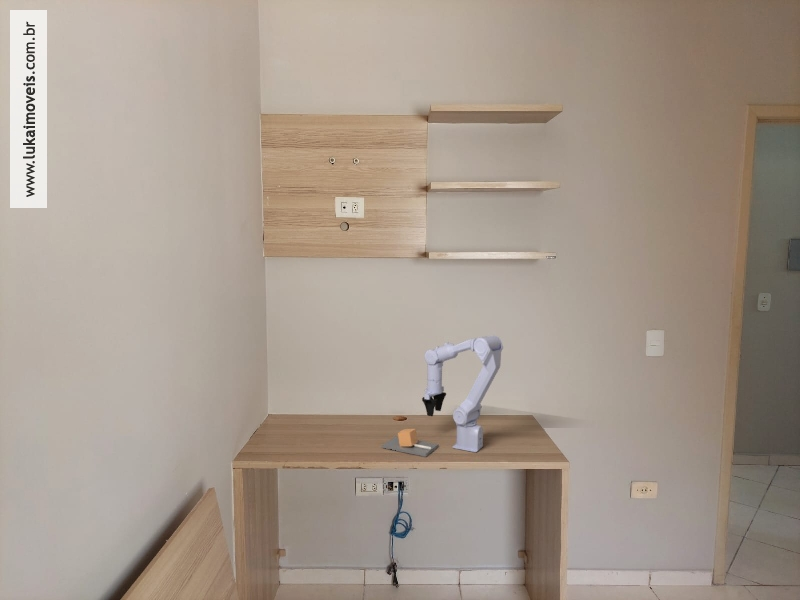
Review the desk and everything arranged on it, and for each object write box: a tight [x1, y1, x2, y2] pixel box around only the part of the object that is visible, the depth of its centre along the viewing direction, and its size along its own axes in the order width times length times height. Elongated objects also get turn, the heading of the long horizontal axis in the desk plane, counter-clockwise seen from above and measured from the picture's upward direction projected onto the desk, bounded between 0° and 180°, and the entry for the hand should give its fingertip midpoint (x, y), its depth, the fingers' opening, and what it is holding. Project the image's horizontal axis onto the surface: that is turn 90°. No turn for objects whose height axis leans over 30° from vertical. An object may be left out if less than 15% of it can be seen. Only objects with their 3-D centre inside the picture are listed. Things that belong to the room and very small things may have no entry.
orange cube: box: [397, 428, 419, 446], centre depth 191 cm, size 5×5×5 cm
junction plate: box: [381, 435, 439, 457], centre depth 192 cm, size 18×11×4 cm, turn 62°
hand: (434, 413), depth 203 cm, fingers open, 7 cm apart
